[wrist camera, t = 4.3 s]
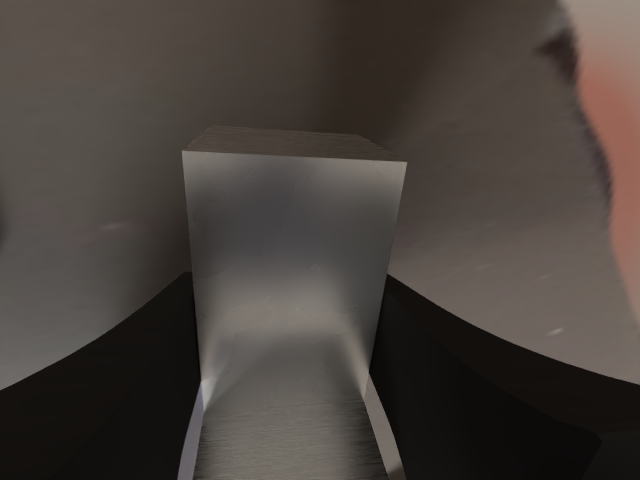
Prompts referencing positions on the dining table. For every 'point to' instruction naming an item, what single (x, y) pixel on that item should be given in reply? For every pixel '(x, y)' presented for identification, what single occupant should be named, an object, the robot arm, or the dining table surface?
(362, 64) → the dining table surface
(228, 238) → the angle bracket
